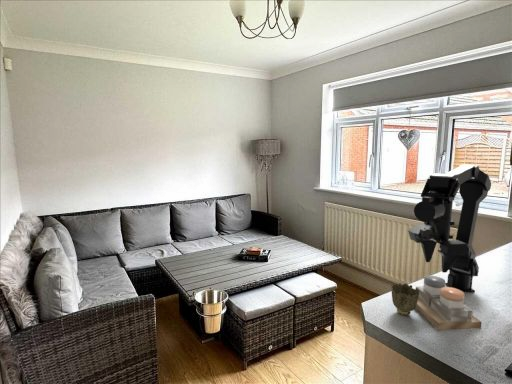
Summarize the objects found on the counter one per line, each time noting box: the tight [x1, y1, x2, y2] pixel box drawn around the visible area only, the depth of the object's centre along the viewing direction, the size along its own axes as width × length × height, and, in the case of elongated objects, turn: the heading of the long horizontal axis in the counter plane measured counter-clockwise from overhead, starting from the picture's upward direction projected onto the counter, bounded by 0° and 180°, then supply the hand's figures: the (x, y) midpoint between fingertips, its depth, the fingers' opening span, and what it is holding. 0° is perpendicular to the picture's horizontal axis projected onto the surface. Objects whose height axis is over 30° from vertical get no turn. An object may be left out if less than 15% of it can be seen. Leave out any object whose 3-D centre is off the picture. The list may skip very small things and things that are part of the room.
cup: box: [391, 282, 420, 317], centre depth 90 cm, size 8×7×8 cm
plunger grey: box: [423, 275, 446, 295], centre depth 94 cm, size 6×6×4 cm
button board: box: [414, 285, 483, 331], centre depth 90 cm, size 12×16×5 cm
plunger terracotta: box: [440, 286, 465, 309], centre depth 86 cm, size 6×6×4 cm
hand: (435, 266), depth 93 cm, fingers open, 8 cm apart
